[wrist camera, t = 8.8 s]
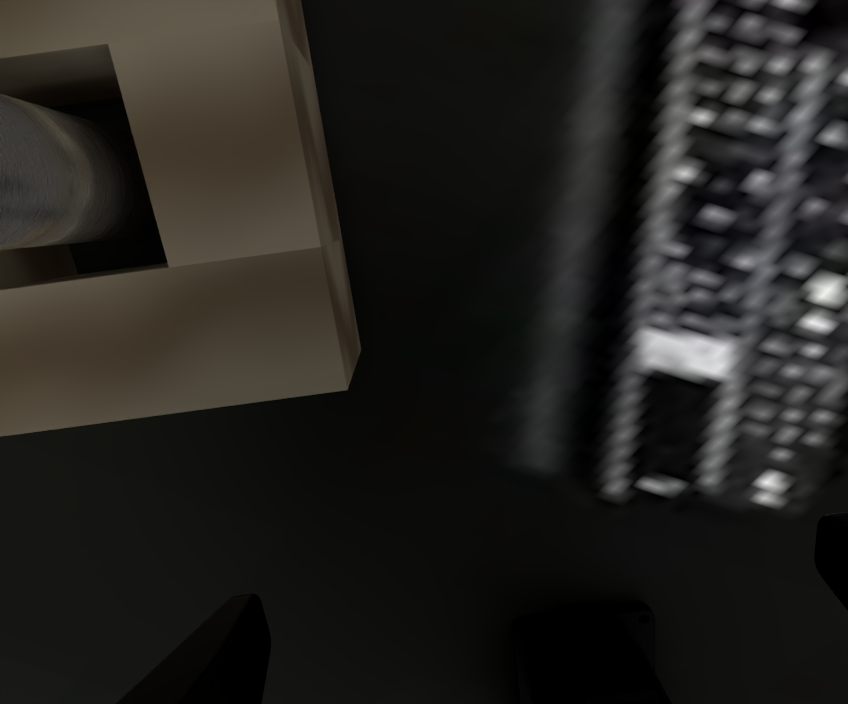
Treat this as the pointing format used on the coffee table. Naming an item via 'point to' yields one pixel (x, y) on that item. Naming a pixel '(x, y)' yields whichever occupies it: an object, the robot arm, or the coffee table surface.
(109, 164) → the peg
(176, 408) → the socket board
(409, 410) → the coffee table surface
